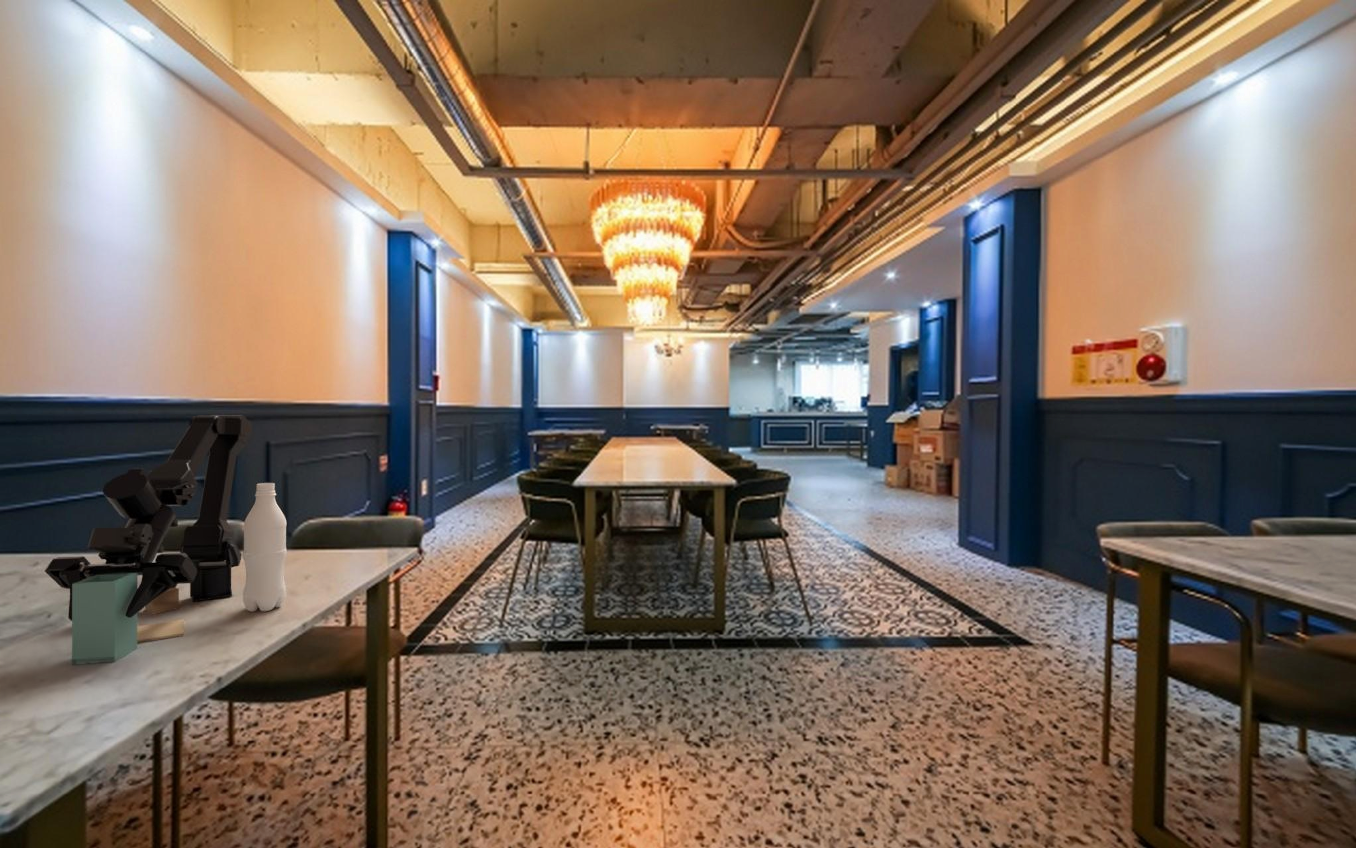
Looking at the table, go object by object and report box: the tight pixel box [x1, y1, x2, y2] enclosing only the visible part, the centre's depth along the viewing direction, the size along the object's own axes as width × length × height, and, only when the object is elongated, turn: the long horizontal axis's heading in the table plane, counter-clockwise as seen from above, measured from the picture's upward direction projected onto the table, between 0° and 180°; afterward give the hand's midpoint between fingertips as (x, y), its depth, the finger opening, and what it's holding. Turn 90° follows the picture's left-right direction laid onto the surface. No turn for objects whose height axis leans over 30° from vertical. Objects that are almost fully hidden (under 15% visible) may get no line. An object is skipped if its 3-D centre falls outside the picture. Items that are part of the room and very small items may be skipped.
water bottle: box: [242, 482, 288, 613], centre depth 120 cm, size 7×7×25 cm
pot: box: [71, 573, 139, 666], centre depth 96 cm, size 6×6×12 cm
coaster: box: [137, 618, 185, 644], centre depth 106 cm, size 9×9×1 cm
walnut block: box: [144, 587, 180, 615], centre depth 119 cm, size 4×4×4 cm
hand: (99, 618), depth 94 cm, fingers open, 7 cm apart
